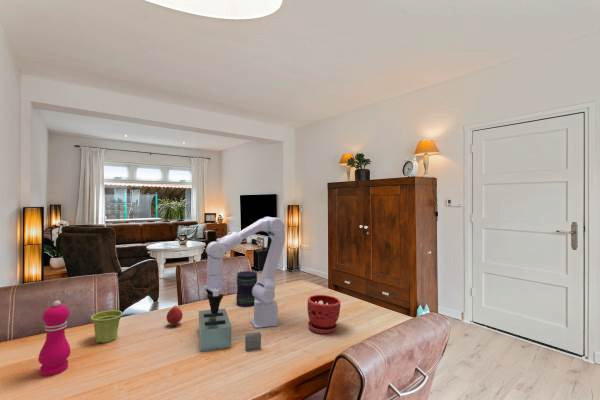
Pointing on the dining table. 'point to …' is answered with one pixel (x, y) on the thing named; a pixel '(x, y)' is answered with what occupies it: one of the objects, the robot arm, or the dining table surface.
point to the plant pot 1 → (106, 325)
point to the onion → (174, 316)
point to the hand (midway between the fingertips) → (213, 309)
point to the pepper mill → (55, 341)
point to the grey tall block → (252, 341)
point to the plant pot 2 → (323, 313)
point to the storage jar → (245, 288)
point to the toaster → (214, 330)
